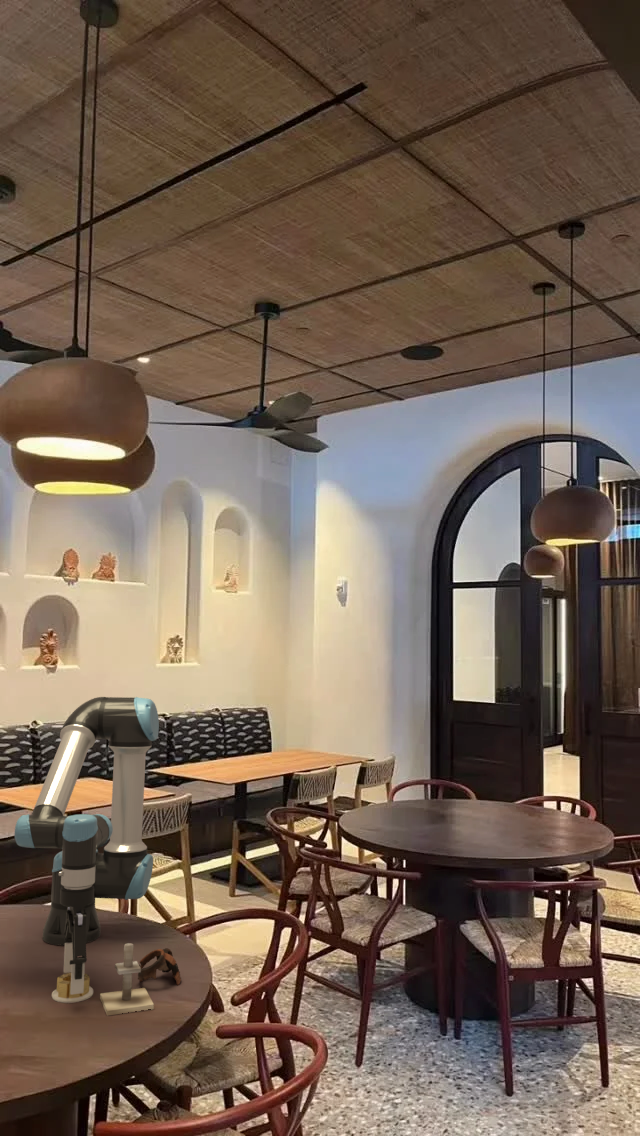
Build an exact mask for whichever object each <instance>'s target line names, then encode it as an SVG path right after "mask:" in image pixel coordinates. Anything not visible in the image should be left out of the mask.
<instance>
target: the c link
mask: <svg viewBox="0 0 640 1136" xmlns="http://www.w3.org/2000/svg"><path fill="white" fill-rule="evenodd" d="M90 979H91V978H90V975H89V974H87V973H85V972H84V991H83V993H80V994H72V995H71V994H70V989H71V972H68V973H63V974H61V975H60V976H58V977H56V989H57V991H58V997H62V998H66V999H67V998H68V997H69V999H70V998H77V997H80V996H84V995H85V994H87V993H88V992H89V987H90Z"/></svg>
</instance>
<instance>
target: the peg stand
mask: <svg viewBox="0 0 640 1136" xmlns="http://www.w3.org/2000/svg"><path fill="white" fill-rule="evenodd" d="M114 965H115V966H114V969H115V970H116V973H117V974H118V975H122V986H121V987H122V990H117V991H109V992H101V993H99V999H100V1002H101V1004H102V1007H103V1010H104V1012H105V1014H106V1016H114V1015H123V1014H129V1013H135V1011H137V1012H142V1011H141V1010H144V1011H149V1010H148V1009H151V1010H154V1009H155V1007H154V1006H155V1004H154V1002H153V1000H152V998H151V997H150V994H149V993H148V991H147V989H146V988H145V987H142V988H141V987H140V988H132V987H133V974H136V973H137V974H138V972H141V968H140V966H141V965H140V963H139V962H138V960H134V944H133V943H129V942H128V943H125V944H124V946H123V962H117V963H115V964H114ZM139 965H140V966H139ZM128 1012H129V1013H128ZM122 1013H123V1014H122Z"/></svg>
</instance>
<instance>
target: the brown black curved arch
mask: <svg viewBox="0 0 640 1136" xmlns="http://www.w3.org/2000/svg"><path fill="white" fill-rule="evenodd" d="M155 958H156V961H155V962H154V963H152V964H150V965H148V966H146V965H147V964H148V963H149V962H150V961H151V960H153V959H155ZM139 966H140V968H141V972H137V980H138V981H139V982H144V981H145V980H147V981H148V980H150V979H154V980H157V979H158V977H157V971H161V973H170V972H171V974H172V978H174V980H175V981H176V982H175V983H176V985H177V986H180V983H181V981H182V977H181V971H180V969H179V966H178V963H177V961H176V959H175V958H174V956H173V951H172V950H171V949H170V948H168V947H167V948H163V949H162V948H158V949H154V950H152V951H150V952H149V953H147V954H146V955H145V956H143V957H142V958H141V959H140V961H139ZM145 966H146V967H145Z"/></svg>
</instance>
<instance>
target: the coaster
mask: <svg viewBox="0 0 640 1136" xmlns="http://www.w3.org/2000/svg"><path fill="white" fill-rule="evenodd" d="M92 996H94V989H93V987H91V986H89V992H88V993H87V994H85V995H84V996H80V997H77V998H70V999H69V997H68V998H67V999H66V998H62V997H58V991H57V988H56V989H54V990H53V991H52V992H51V999H52V1000H53V1001H55V1002H58V1003H61V1004H63V1003H64V1004H72V1003H80V1002H83V1001H86V1000H88V999H90V998H92Z"/></svg>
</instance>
